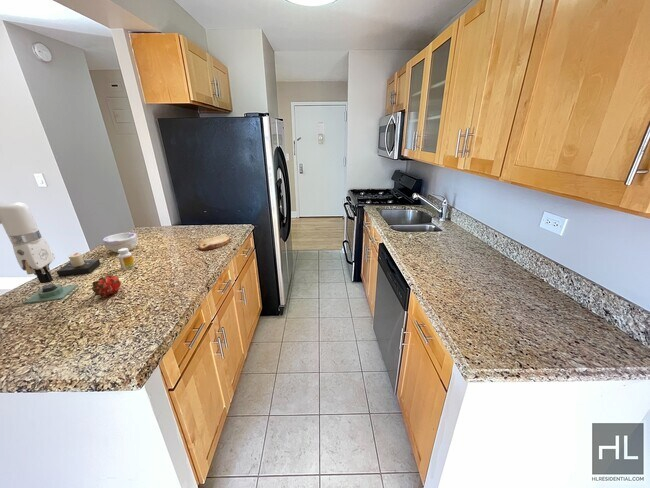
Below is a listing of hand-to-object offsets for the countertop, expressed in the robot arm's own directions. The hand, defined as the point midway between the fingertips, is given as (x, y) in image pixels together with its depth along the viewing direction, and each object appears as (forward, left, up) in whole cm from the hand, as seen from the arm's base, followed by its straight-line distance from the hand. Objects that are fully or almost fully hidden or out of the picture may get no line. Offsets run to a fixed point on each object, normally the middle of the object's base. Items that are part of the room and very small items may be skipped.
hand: (46, 281), depth 100 cm
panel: (-3, +25, -7) cm, 26 cm away
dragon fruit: (+20, -2, -7) cm, 21 cm away
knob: (-3, +25, -4) cm, 26 cm away
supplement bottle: (+18, +22, -7) cm, 29 cm away
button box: (0, 0, -7) cm, 7 cm away
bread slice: (+55, +44, -7) cm, 71 cm away
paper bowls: (+6, +49, -8) cm, 50 cm away
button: (0, 0, -4) cm, 4 cm away
